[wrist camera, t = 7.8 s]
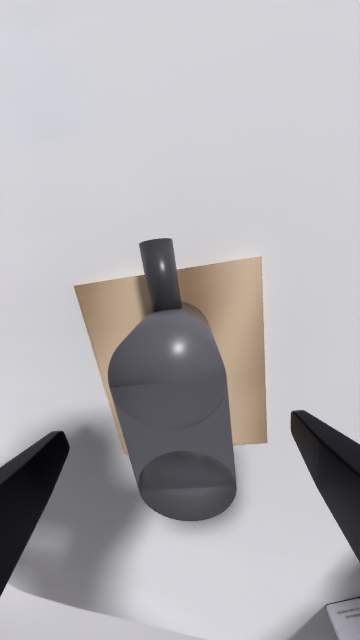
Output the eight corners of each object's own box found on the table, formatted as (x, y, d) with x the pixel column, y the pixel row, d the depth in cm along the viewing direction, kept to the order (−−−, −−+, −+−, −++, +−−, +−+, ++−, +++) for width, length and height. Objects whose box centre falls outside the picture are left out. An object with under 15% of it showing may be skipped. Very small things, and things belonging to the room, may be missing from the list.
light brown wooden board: (257, 257, 10) (261, 256, 9) (263, 435, 13) (267, 442, 12) (80, 285, 10) (73, 285, 10) (126, 445, 14) (124, 453, 13)
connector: (200, 240, 9) (211, 213, 5) (224, 461, 13) (243, 559, 8) (123, 252, 9) (66, 239, 5) (168, 464, 13) (159, 560, 9)
